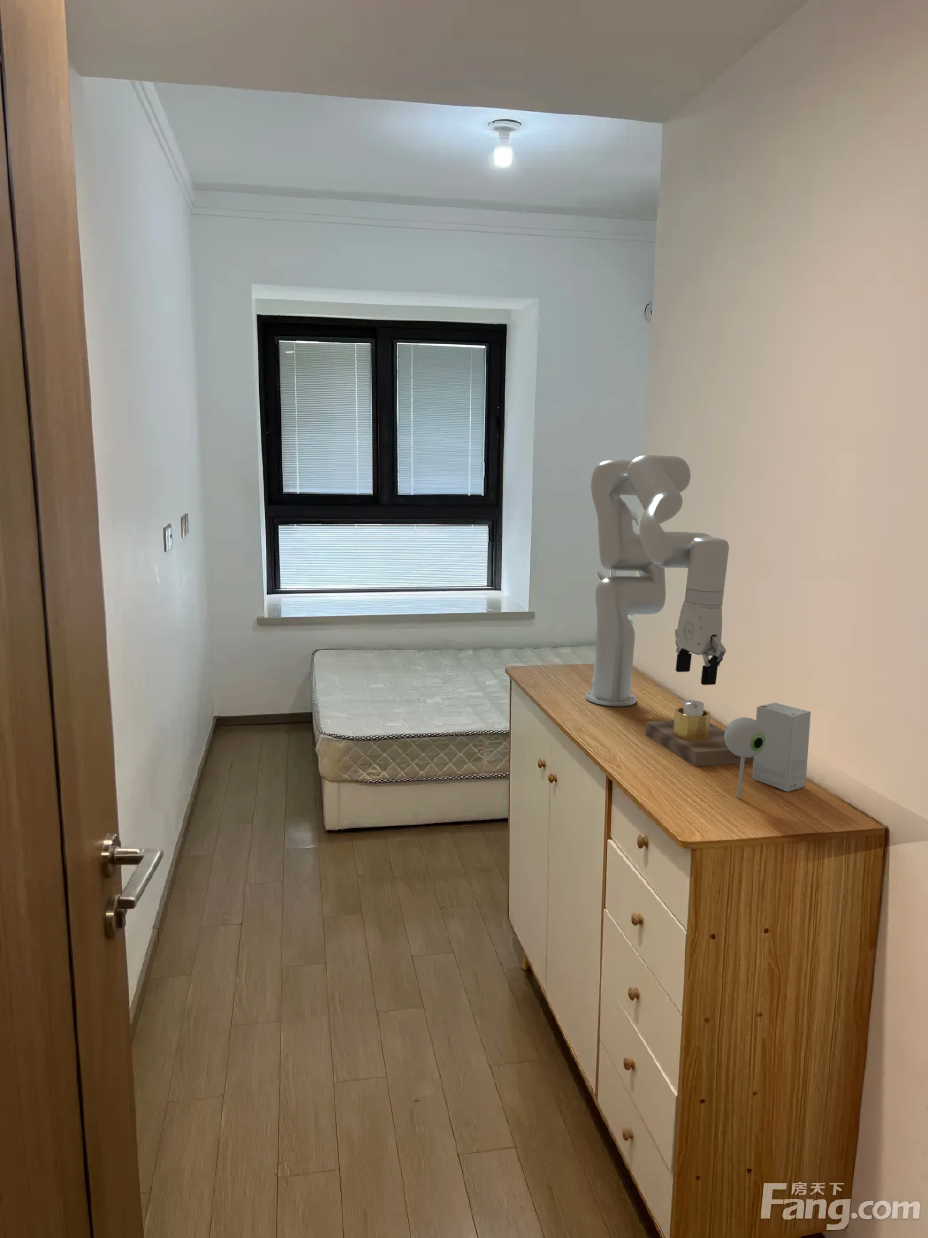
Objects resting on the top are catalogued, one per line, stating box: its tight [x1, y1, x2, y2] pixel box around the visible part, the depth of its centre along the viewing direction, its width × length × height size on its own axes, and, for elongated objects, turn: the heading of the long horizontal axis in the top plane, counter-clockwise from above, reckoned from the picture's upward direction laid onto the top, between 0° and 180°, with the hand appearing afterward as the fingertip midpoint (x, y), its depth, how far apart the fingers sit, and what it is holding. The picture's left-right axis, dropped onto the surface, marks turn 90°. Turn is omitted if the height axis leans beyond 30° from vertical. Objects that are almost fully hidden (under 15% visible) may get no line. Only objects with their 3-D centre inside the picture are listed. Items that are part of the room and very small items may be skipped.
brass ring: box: [673, 706, 712, 740], centre depth 177 cm, size 7×7×5 cm
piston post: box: [683, 699, 705, 716], centre depth 177 cm, size 4×4×7 cm
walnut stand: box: [644, 719, 754, 767], centre depth 179 cm, size 20×14×3 cm
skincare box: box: [751, 702, 812, 792], centre depth 159 cm, size 8×6×15 cm
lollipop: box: [724, 717, 766, 799], centre depth 151 cm, size 7×7×15 cm
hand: (695, 677), depth 176 cm, fingers open, 9 cm apart
